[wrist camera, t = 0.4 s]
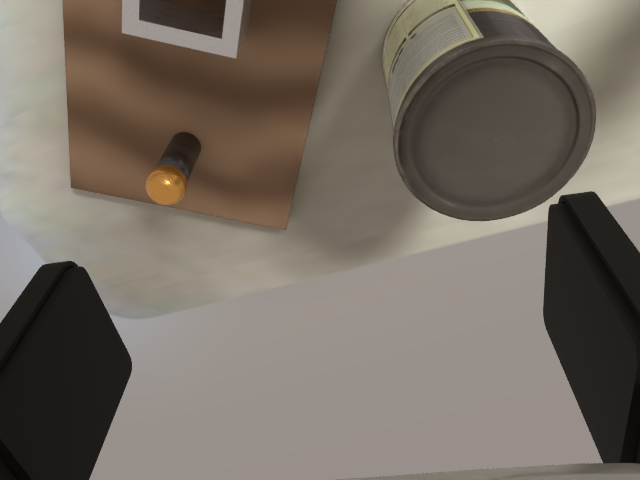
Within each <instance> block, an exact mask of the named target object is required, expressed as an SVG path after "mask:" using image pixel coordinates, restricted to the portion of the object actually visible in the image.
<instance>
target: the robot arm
mask: <svg viewBox="0 0 640 480" xmlns="http://www.w3.org/2000/svg"><path fill="white" fill-rule="evenodd" d="M543 316H544V322H545V326H546V329H547V332H548V334H549V337H550V339H551V341H552V344H553V346H554V348H555V351H556V353H557V355H558V358H559V360H560V363H561V365H562V367H563V370H564V372H565V374H566V377H567V379H568V381H569V384H570V386H571V388H572V391H573V393H574V395H575V398H576V400H577V402H578V404H579V407H580V409H581V412H582V414H583V416H584V419H585V421H586V424H587V426H588V428H589V431H590V432H591V435H592V438H593V440H594V442H595V444H596V447H597V449H598V452H599V454H600V456H601V459H602V461H603V463H599V464H565V465H546V466H529V467H511V468H493V469H477V470H464V471H463V470H462V471H449V472H435V473H422V474H407V475H393V476H380V477H368V478H367V477H366V478H353V479H338V480H640V253H639V251H638V250H637V249H636V247H635V246H634V244H633V243H632V242H631V241H630V239H629V238H628V236H627V235H626V234H625V232H624V231H623V229H622V228H621V227H620V225H619V224H618V223H617V221H616V220H615V219H614V217H613V216H612V215H611V214H610V212H609V211H608V209H607V208H606V206H605V205H604V204H603V202H602V201H601V200H600V198H599V197H598V195H597V194H596V193H595V192H584V193H577V194H569V195H562V196H561V197H560V198H559V202H558V204H552V205H550V207H549V213H548V231H547V250H546V269H545V287H544V306H543ZM131 371H132V362H131V358H130V355H129V353H128V351H127V349H126V347H125V345H124V343H123V342H122V339H121V337H120V335H119V333H118V331H117V330H116V328H115V326H114V324H113V322H112V320H111V318H110V316H109V314H108V312H107V310H106V308H105V306H104V304H103V302H102V300H101V298H100V296H99V294H98V292H97V290H96V288H95V286H94V284H93V283H92V281H91V279H90V277H89V275H88V273H87V271H86V270H85V269H84V268H83V267H78V265H77V264H76V263H74V262H72V261H66V262H58V263H51V264H45V265H43V266H41V267H40V268H39V270H38V271H37V272H36V274H35V275H34V277H33V278H32V280H31V281H30V282H29V284H28V285H27V286H26V288H25V289H24V291H23V292H22V294H21V295H20V296H19V298H18V299H17V301H16V302H15V304H14V305H13V306H12V308H11V309H10V310H9V312H8V313H7V315H6V316H5V318H4V319H3V320H2V322H1V323H0V480H89V478H90V476H91V473H92V471H93V468H94V466H95V463H96V461H97V458H98V455H99V453H100V451H101V448H102V446H103V443H104V440H105V438H106V435H107V433H108V430H109V428H110V425H111V422H112V420H113V418H114V415H115V413H116V410H117V407H118V405H119V403H120V400H121V397H122V395H123V392H124V390H125V387H126V385H127V382H128V380H129V377H130V375H131Z"/></svg>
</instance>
